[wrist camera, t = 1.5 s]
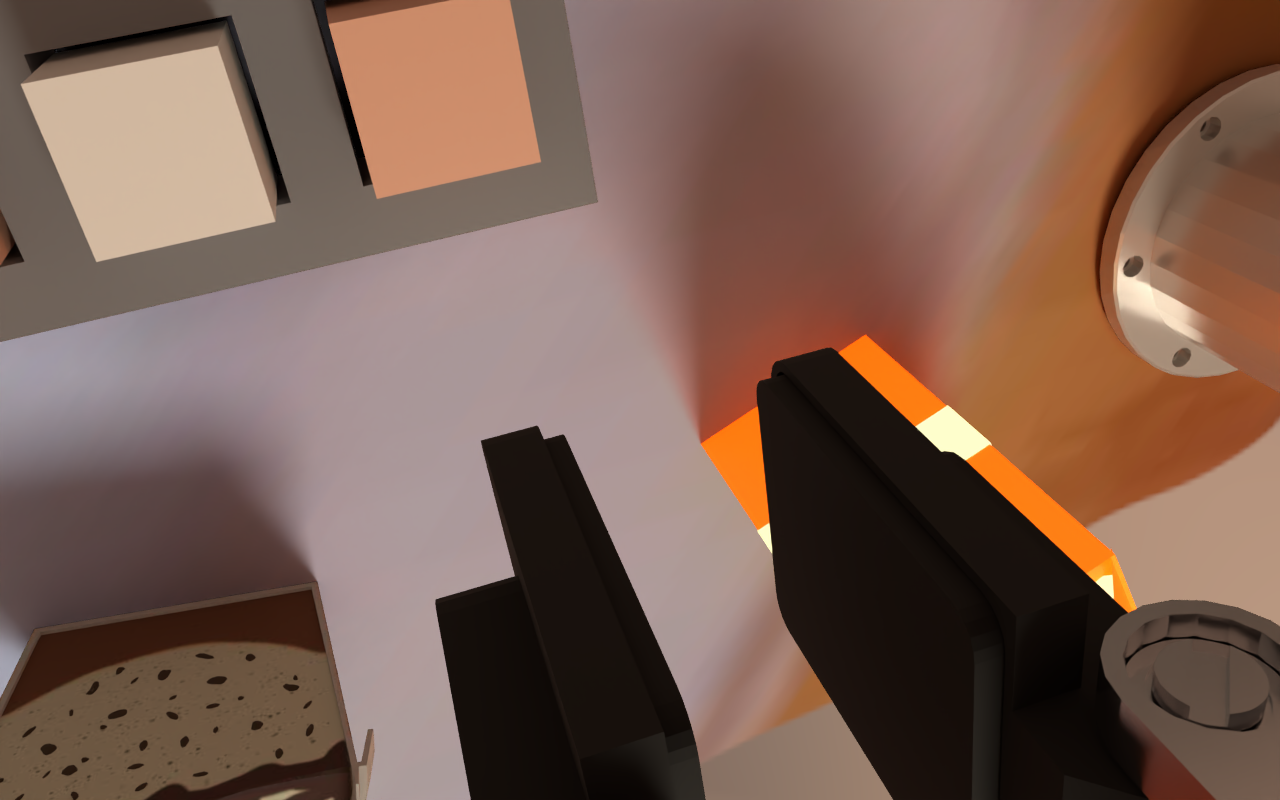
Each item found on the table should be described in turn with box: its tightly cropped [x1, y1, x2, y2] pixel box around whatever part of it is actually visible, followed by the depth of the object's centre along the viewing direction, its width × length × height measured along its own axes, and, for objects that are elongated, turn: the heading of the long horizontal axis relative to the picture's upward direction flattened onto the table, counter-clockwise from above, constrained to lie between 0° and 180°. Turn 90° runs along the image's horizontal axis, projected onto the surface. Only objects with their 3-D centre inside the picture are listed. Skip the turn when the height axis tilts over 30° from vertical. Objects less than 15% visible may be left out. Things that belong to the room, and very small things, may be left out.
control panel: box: [0, 0, 598, 342], centre depth 29 cm, size 22×9×3 cm, turn 98°
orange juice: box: [701, 335, 1137, 613], centre depth 35 cm, size 8×9×20 cm
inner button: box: [324, 0, 541, 199], centre depth 29 cm, size 4×4×4 cm
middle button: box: [21, 20, 277, 262], centre depth 28 cm, size 4×4×4 cm
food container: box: [0, 582, 374, 800], centre depth 35 cm, size 12×6×10 cm, turn 90°
